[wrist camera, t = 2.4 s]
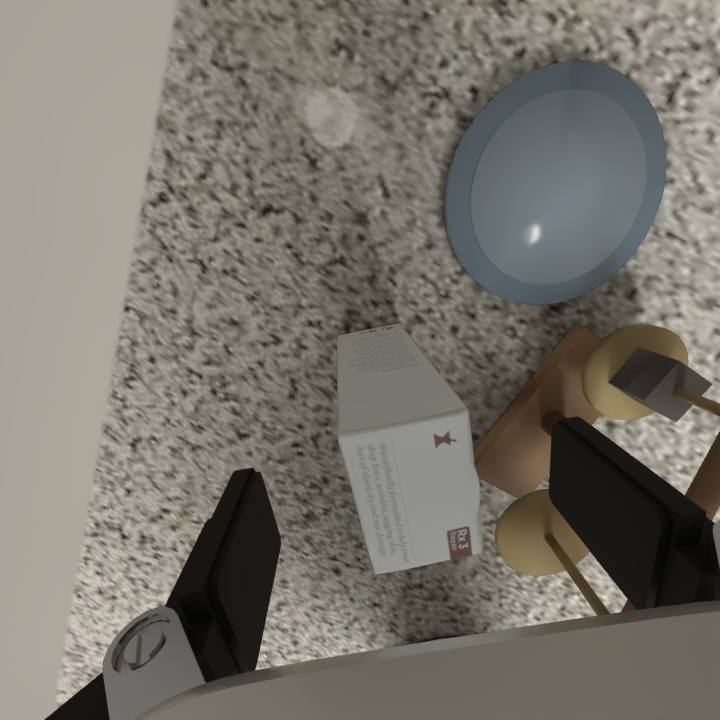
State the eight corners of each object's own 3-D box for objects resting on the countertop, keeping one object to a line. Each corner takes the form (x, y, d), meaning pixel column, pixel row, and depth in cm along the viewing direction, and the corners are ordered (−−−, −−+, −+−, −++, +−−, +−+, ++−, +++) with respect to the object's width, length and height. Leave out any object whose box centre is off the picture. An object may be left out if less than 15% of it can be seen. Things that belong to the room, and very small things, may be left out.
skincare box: (334, 334, 22) (322, 431, 10) (403, 320, 21) (471, 401, 10) (354, 419, 23) (363, 583, 12) (418, 406, 23) (489, 559, 12)
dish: (639, 286, 21) (655, 287, 20) (450, 316, 21) (456, 319, 20) (663, 53, 18) (684, 40, 17) (434, 91, 18) (440, 80, 17)
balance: (504, 509, 26) (632, 717, 15) (446, 479, 25) (534, 677, 13) (650, 341, 23) (982, 439, 11) (589, 297, 21) (884, 354, 10)
